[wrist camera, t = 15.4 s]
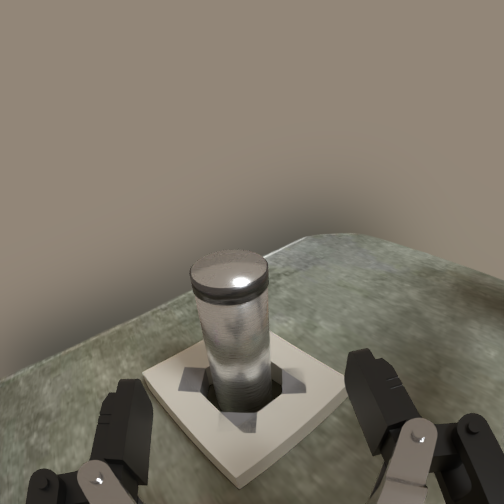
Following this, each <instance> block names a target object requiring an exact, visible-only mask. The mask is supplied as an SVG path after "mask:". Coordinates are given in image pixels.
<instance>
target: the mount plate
mask: <svg viewBox="0 0 504 504" xmlns="http://www.w3.org/2000/svg"><path fill="white" fill-rule="evenodd" d="M270 356H271V378H272V379H273V380H274V381H276V382H277V383H279V384H280V385H281V386H282V394H281V395H280V396H278V397H277V398H276V399H275V400H273V401H272V402H271V403H269V404H268V405H267V406H265V407H264V408H263V409H261V410H260V411H258V412H257V413H235V412H220V411H219V410H218V409H217V408H216V407H215V406H214V405H213V404H211V403H210V402H209V401H208V400H207V395H208V390H209V385H211V384H212V383H213V379H212V375H211V370H210V366H209V361H208V357H207V352H206V348H205V343H204V340H202V341H200V342H198V343H196V344H194V345H193V346H191V347H189V348H187V349H185V350H183V351H182V352H180V353H178V354H176V355H174V356H172V357H170V358H168V359H167V360H165V361H163V362H161V363H159V364H157V365H155V366H153V367H151V368H149V369H147V370H146V371H144V372H142V374H143V376H144V379H145V381H146V383H147V386H148V388H149V390H150V391H151V392H152V394H153V395H154V396H155V397H156V399H157V400H158V401H159V403H160V404H161V405H162V406H163V408H164V409H165V410H166V411H167V412H168V414H169V415H170V416H171V417H172V418H173V420H174V421H175V422H176V423H177V424H178V426H179V427H180V428H181V429H182V430H183V431H184V433H185V434H186V435H187V436H188V437H189V438H190V439H191V440H192V442H193V443H194V444H195V445H196V446H197V447H198V448H199V449H200V450H201V451H202V452H203V454H204V455H205V456H206V457H207V458H208V459H209V460H210V461H211V462H212V463H213V464H214V465H215V466H216V467H217V468H218V469H219V470H220V471H221V472H222V473H223V474H224V475H225V476H226V477H227V478H228V479H229V480H230V481H231V482H232V483H233V484H234V485H235V486H236V487H237V488H238V489H241V488H242V487H243V486H245V485H246V484H248V483H249V482H250V481H252V480H253V479H254V478H256V477H257V476H258V475H260V474H261V473H262V472H264V471H265V470H266V469H268V468H269V467H270V466H271V465H273V464H274V463H275V462H276V461H278V460H279V459H280V458H281V457H283V456H284V455H285V454H286V453H287V452H289V451H290V450H291V449H292V448H293V447H295V446H296V445H297V444H298V443H299V442H300V441H301V440H303V439H304V438H305V437H306V436H307V435H308V434H309V433H311V432H312V431H313V430H314V429H315V428H316V427H317V426H318V425H319V424H320V423H321V422H323V421H324V420H325V419H326V418H327V417H328V416H329V415H330V414H331V413H332V412H333V411H334V410H335V409H336V408H337V407H338V406H339V405H340V404H341V403H342V402H343V401H344V400H345V399H346V398H347V397H348V394H347V391H346V388H345V383H344V375H342V374H341V373H339V372H337V371H335V370H334V369H332V368H330V367H329V366H327V365H325V364H323V363H322V362H320V361H318V360H317V359H315V358H313V357H312V356H310V355H308V354H307V353H305V352H303V351H302V350H300V349H299V348H297V347H295V346H294V345H292V344H290V343H289V342H287V341H285V340H284V339H282V338H281V337H279V336H277V335H276V334H274V333H273V332H271V331H270Z"/></svg>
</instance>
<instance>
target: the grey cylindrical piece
mask: <svg viewBox="0 0 504 504" xmlns="http://www.w3.org/2000/svg"><path fill="white" fill-rule="evenodd" d="M190 278H191V284H192V289H193V293H194V294H195V298H196V303H197V308H198V313H199V318H200V323H201V328H202V333H203V338H204V343H205V348H206V352H207V357H208V361H209V366H210V370H211V375H212V379H213V384H214V388H215V392H216V396H217V401H218V405H219V407H220V409H221V411H222V412H235V413H257V412H258V411H260V410H261V409H263V408H264V407H265V406H267V405H268V404H269V403H271V402H272V382H271V356H270V331H269V308H268V284H269V275H268V263H267V261H266V260H265V259H264V258H263V257H262V256H260V255H259V254H257V253H254V252H251V251H246V250H223V251H218V252H214V253H211V254H208V255H206V256H204V257H202V258H200V259H199V260H197V261H196V262H195V263H194V264H193V265H192V267H191V269H190Z"/></svg>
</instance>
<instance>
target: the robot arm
mask: <svg viewBox="0 0 504 504" xmlns="http://www.w3.org/2000/svg"><path fill="white" fill-rule="evenodd" d="M344 383H345V388H346V391H347V394H348V396H349V399H350V401H351V404H352V406H353V409H354V411H355V413H356V416H357V418H358V421H359V423H360V426H361V428H362V431H363V433H364V436H365V438H366V441H367V443H368V446H369V448H370V451H371V453H372V456H375V455H379V454H382V457H383V459H384V461H383V463H382V466H381V468H380V471H379V473H378V476H377V478H376V481H375V483H374V486H373V488H372V490H371V493H370V495H369V497H368V500H367V502H366V503H365V504H424V502H425V499H426V495H427V490H428V488H427V486H426V480H427V476H428V473H432V472H434V473H435V476H436V478H437V481H438V483H439V486H440V489H441V491H442V494H443V497H444V500H445V502H446V504H504V453H503V451H502V449H501V447H500V445H499V444H498V442H497V440H496V438H495V436H494V434H493V432H492V430H491V428H490V427H489V425H488V423H487V421H486V420H485V419H484V418H483V417H482V416H481V415H478V414H475V413H470V414H466V415H464V416H463V417H462V418H461V419H460V420H459V421H458V423H449V424H433V423H432V422H431V421H429V420H427V419H424V418H422V417H421V416H420V415H419V413H418V411H417V409H416V408H415V406H414V404H413V402H412V400H411V398H410V397H409V395H408V393H407V391H406V389H405V388H404V386H402V382H401V381H400V379H399V378H398V375H397V374H396V372H395V370H394V368H393V367H392V365H390V364H389V363H388V362H387V361H385V360H384V359H383V358H380V359H376V360H375V358H374V356H373V354H372V353H371V351H370V350H369V349H368V348H365V349H361V350H357V351H352V352H349V354H348V359H347V365H346V370H345V376H344ZM152 422H153V407H152V403H151V401H150V399H149V397H148V395H147V393H146V391H145V389H144V387H143V385H142V383H141V381H140V379H120V380H119V382H118V386H117V391H116V393H109V394H108V396H107V397H106V398H105V400H104V401H103V403H102V407H101V411H100V416H99V419H98V425H97V428H96V433H95V438H94V442H93V447H92V452H91V457H90V459H89V461H88V462H86V463H84V464H83V465H82V466H81V467H80V469H79V470H78V471H75V472H70V473H65V474H59V475H56V474H55V473H54V472H53V471H51V470H49V469H39V470H37V471H36V472H34V473H33V474H32V476H31V478H30V481H29V487H28V492H27V499H26V504H145V502H144V501H143V500H142V499H141V497H140V496H139V495H138V485H147V483H148V468H149V455H150V443H151V432H152Z"/></svg>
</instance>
